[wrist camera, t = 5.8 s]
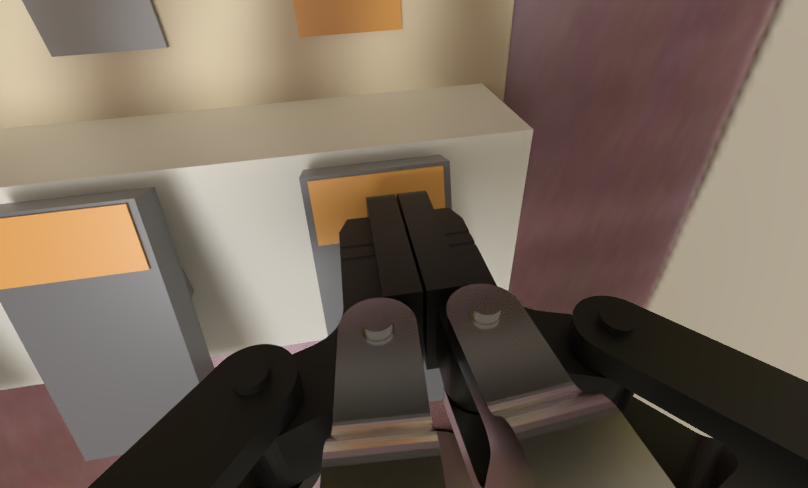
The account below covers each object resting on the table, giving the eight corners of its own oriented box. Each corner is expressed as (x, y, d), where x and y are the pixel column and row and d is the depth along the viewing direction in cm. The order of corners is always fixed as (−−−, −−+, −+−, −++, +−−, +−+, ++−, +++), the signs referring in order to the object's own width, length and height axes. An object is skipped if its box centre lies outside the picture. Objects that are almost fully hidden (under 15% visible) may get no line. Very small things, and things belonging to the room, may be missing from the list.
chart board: (520, -178, 13) (536, -188, 12) (482, 235, 22) (489, 248, 21) (-597, -149, 10) (-696, -159, 9) (-82, 312, 19) (-102, 331, 18)
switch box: (481, 83, 16) (545, 139, 12) (470, 241, 21) (511, 325, 17) (-267, 154, 14) (-566, 264, 9) (-83, 317, 18) (-215, 442, 14)
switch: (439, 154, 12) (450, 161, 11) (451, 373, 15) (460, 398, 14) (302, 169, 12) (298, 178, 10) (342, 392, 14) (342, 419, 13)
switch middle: (154, 186, 11) (132, 199, 10) (227, 409, 14) (217, 439, 13) (-5, 204, 11) (-48, 219, 9) (106, 430, 14) (84, 462, 13)
